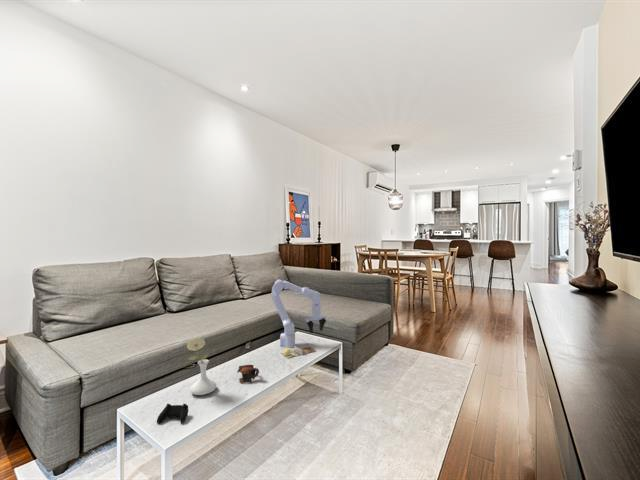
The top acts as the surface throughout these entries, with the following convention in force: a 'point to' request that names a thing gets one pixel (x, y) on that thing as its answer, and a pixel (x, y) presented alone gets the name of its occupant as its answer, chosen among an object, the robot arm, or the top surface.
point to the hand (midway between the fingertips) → (316, 331)
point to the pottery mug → (247, 373)
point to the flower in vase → (203, 383)
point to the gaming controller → (174, 412)
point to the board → (299, 352)
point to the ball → (287, 352)
